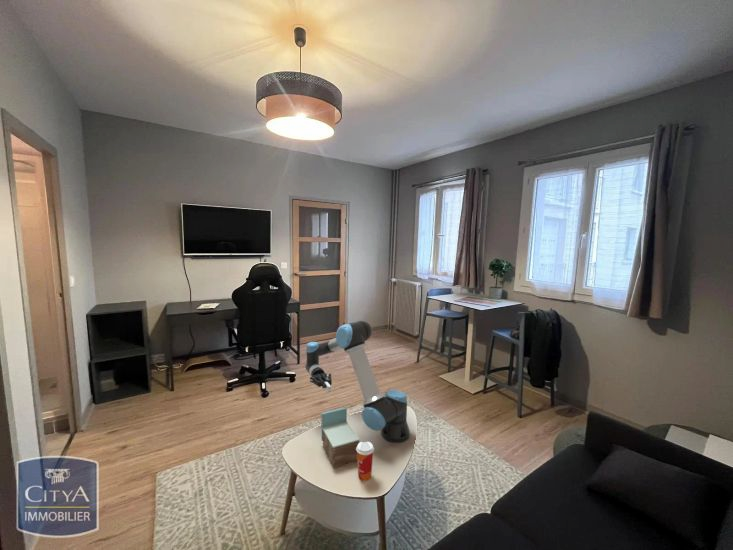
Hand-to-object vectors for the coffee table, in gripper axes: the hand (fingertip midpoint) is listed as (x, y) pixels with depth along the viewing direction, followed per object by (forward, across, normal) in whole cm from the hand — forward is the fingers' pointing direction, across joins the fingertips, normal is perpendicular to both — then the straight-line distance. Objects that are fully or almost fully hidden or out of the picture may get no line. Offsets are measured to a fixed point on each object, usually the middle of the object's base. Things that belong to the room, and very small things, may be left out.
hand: (329, 389), depth 159 cm
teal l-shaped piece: (+15, 0, -23) cm, 27 cm away
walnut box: (+16, 0, -26) cm, 30 cm away
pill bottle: (+34, -4, -26) cm, 43 cm away
